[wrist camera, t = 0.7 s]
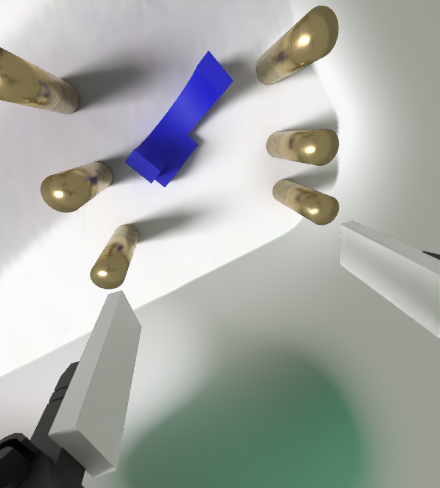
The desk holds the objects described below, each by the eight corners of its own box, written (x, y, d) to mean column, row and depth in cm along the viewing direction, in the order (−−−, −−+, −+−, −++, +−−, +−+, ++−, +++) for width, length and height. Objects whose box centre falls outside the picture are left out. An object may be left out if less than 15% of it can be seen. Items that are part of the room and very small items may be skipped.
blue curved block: (165, 182, 29) (163, 193, 24) (134, 157, 27) (124, 162, 22) (230, 103, 27) (244, 94, 21) (201, 69, 25) (208, 50, 20)
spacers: (39, 83, 23) (-46, 49, 14) (277, 25, 24) (338, -39, 16) (120, 248, 31) (99, 293, 22) (293, 198, 33) (339, 220, 24)
